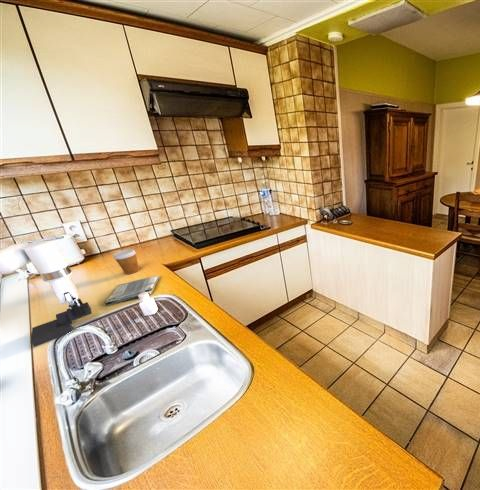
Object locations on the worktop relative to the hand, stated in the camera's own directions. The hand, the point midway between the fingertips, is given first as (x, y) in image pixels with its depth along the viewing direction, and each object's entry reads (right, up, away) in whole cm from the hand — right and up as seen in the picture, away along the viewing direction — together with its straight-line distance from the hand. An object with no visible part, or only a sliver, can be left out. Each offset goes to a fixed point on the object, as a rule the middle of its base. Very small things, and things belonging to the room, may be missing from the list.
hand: (79, 311), depth 106 cm
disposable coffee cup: (-16, +12, +42) cm, 47 cm away
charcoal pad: (-6, -8, -4) cm, 10 cm away
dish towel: (+3, +4, +22) cm, 23 cm away
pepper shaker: (+24, -2, +6) cm, 25 cm away
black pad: (-1, -2, 0) cm, 2 cm away
